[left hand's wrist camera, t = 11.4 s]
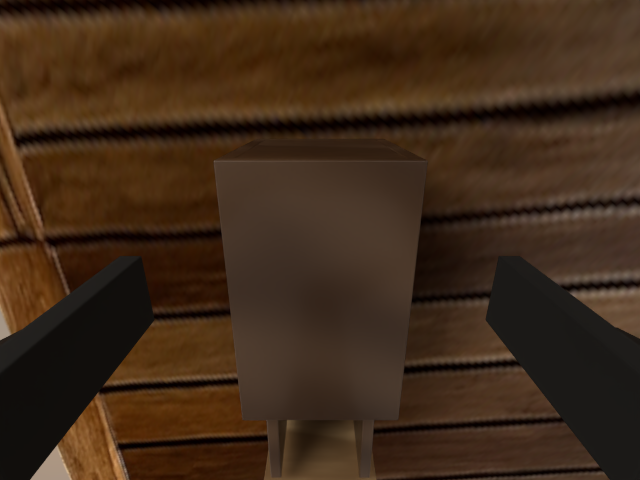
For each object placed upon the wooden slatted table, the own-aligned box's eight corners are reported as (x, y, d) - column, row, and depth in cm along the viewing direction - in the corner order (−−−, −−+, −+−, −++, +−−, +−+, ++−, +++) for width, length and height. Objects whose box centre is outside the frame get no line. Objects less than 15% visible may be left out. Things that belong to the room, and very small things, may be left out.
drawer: (360, 442, 38) (373, 548, 29) (279, 443, 38) (267, 548, 29) (371, 268, 30) (393, 338, 21) (269, 268, 30) (247, 338, 21)
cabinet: (372, 318, 33) (398, 420, 22) (267, 318, 33) (242, 420, 22) (384, 138, 27) (428, 160, 16) (255, 139, 27) (213, 160, 16)
